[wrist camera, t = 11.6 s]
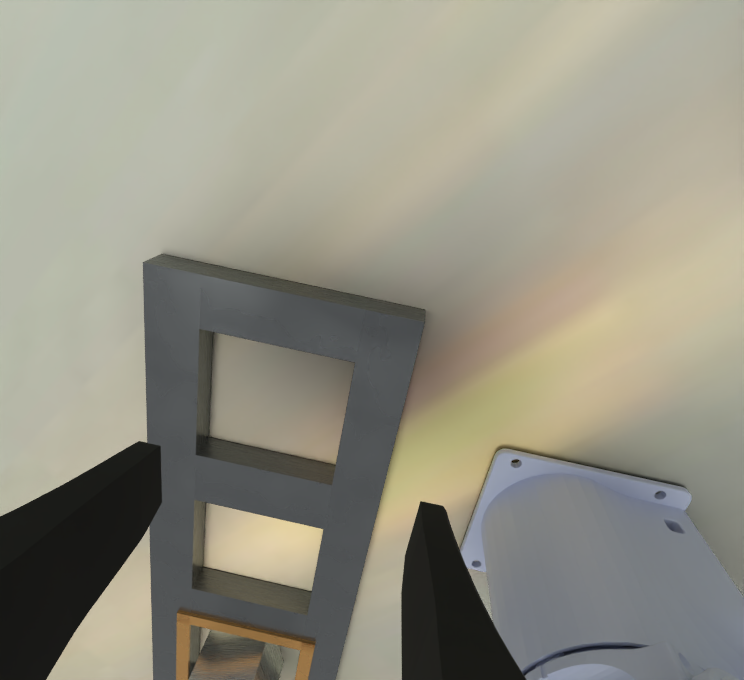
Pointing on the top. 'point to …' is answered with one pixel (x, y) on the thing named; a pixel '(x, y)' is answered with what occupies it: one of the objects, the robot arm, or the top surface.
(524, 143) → the top surface
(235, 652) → the block
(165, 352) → the rail
